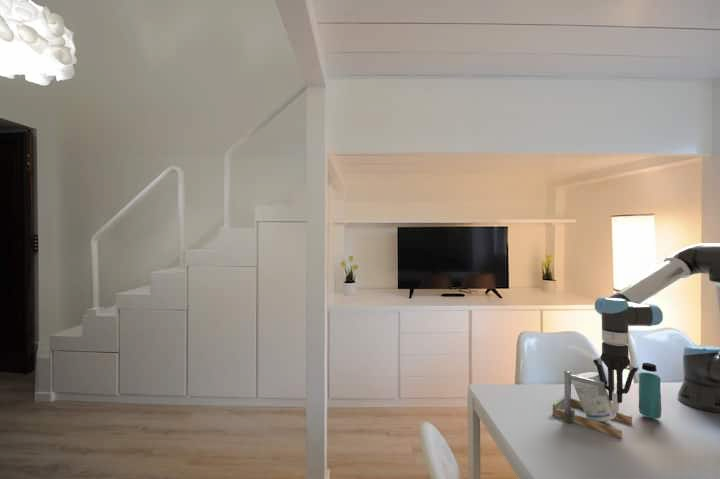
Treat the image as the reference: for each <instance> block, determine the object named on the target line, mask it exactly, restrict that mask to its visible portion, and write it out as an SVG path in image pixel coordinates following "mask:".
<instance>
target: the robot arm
mask: <svg viewBox="0 0 720 479" xmlns="http://www.w3.org/2000/svg"><path fill="white" fill-rule="evenodd" d="M695 274H704V275H705V274H708V277H709V278H708V280H709V282H711V283H712V284H714V285H715V289H716V297H717V303H718V304H717V306H718V313H719V316H720V242H718V243H717V242H716V243H715V242H714V243H712V242H711V243H709V242H708V243H707V242H705V243H704V242H702V243H697V244H693V245H689V246H686V247H684V248H682V249H680V250H678V251H675V252H674V253H672V254H671V255H669V256H667V257H665V259H663V263H661V264H660V265H659V266H657V267H655V268H654V269H652V270H651V271H649V272H648V273H646V274H644V275H643V276H640V277H639V278H638V279H636V280H635V281H633V282H632V283H630V284H628V285H627V286H625V287H623V288H622V289H620V290H618V291H617V292H616V293H614V294H612V295H611V296H600V297H597V299H596V300H595V302H594V309H595V311H596V313H598V314H599V315H601V341H602V342H601V355H600V357H598V358H595V359H593V360H592V362H593V363H594V365H595V366H596V370H597V373H599V377H600V380H601V382H604V383H605V389H606V390H607V392H608V395H609V400H610V401H611V402H612V412H616V413H617V412H619V411H620V404H621V403H622V402H623V395H626V394H628V393H629V392H630V390H631V386H632V383H633V379H634V376H635V373H636V372H637V371H638V370H639V367H638V366H637V365H636V366H635V364H633V363H631V360H630V358H629V357H630V355H629V353H630V352H629V345H628V344H629V327H651V326H653V327H654V326H658V325H661V323H662V322H663V320H664V314H663V311H662V309H661V308H660V306H658V305H655V304H653V303H643V302H645V301H647V300H648V299H649V298H652V297H653V296H655V295H657V294H658V293H659V292H661V291H662V290H664V289H666V288H667V287H669V286H670V285H672V284H673V283H675V282H677V281H678V280H680V279H686V278H689V277H690V276H693V275H695ZM682 358H683V359H682V360H683V362H682V363H683V366H682V367H683V381H682V384H681V386H680V388H679V390H678V393H677V400H679V401H680V402H681V403H683V404H684V405H687V406H689V407H692V408H696V409H697V410H702V411H707V412H711V413H719V414H720V346H719V347H718V346H712V345H701V344H700V345H699V344H691V345H690V344H689V345H686V346H684V348H683V355H682ZM603 364H604V365H605V366H606V368H607V376H606V374H605V371H604V366H603ZM627 367H628V371H629V372H628V375H627V378H626V381H625V385H624V386H623V384H624V382H623V373H624V370H625V369H626V368H627ZM615 374H616V390H615Z"/></svg>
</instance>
